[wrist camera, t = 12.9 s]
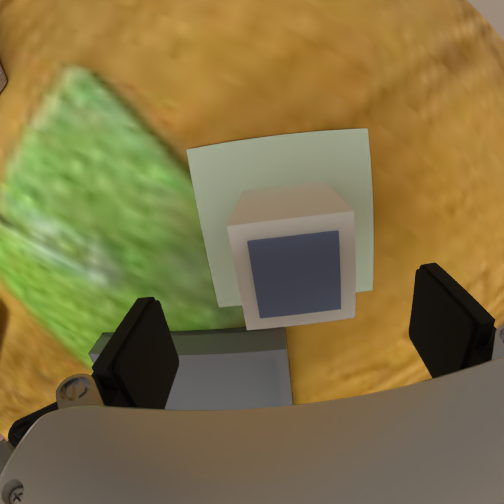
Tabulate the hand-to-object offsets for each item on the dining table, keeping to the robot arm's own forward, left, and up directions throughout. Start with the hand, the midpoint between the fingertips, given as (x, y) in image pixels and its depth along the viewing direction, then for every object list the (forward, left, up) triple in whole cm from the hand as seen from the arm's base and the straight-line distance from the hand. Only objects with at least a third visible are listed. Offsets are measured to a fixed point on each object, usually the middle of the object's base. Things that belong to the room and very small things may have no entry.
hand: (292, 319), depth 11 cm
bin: (-16, +9, -10) cm, 21 cm away
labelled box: (0, 0, -10) cm, 10 cm away
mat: (0, 0, -10) cm, 10 cm away
